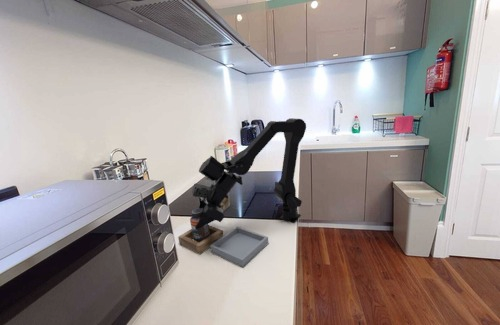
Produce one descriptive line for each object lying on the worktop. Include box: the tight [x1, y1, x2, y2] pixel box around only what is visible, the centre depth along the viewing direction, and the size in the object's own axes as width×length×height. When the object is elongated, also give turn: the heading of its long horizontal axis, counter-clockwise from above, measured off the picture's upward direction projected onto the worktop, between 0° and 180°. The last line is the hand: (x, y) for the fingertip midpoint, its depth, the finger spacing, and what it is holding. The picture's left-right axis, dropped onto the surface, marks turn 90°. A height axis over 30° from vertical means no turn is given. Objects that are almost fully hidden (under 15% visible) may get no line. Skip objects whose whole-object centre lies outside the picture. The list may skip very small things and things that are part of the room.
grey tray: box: [209, 226, 269, 268], centre depth 75 cm, size 14×14×2 cm
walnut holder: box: [178, 225, 224, 255], centre depth 81 cm, size 11×11×3 cm
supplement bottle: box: [189, 207, 210, 243], centre depth 79 cm, size 6×6×11 cm
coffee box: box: [204, 177, 231, 213], centre depth 103 cm, size 9×6×16 cm
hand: (195, 223), depth 79 cm, fingers closed on supplement bottle, 6 cm apart
